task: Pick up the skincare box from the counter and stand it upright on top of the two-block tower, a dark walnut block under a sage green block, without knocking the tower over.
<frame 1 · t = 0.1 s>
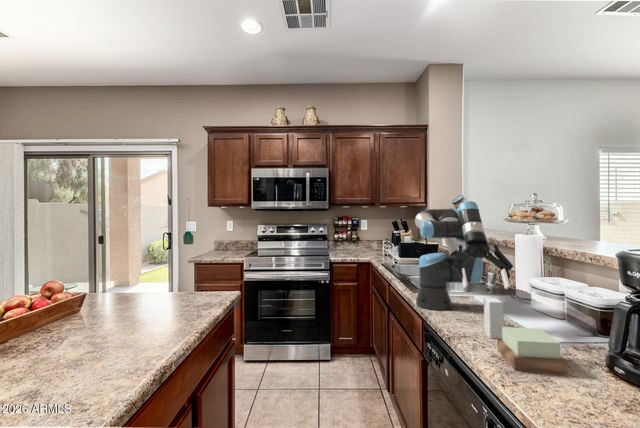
hand: (486, 287, 106), 15 cm above the counter, tool tilted 35°, fingers open, 13 cm apart
skincare box: (493, 336, 102), on the counter
tower top: (529, 349, 84), point 3 cm above the counter, touching tower base
tower base: (529, 363, 84), on the counter, touching tower top
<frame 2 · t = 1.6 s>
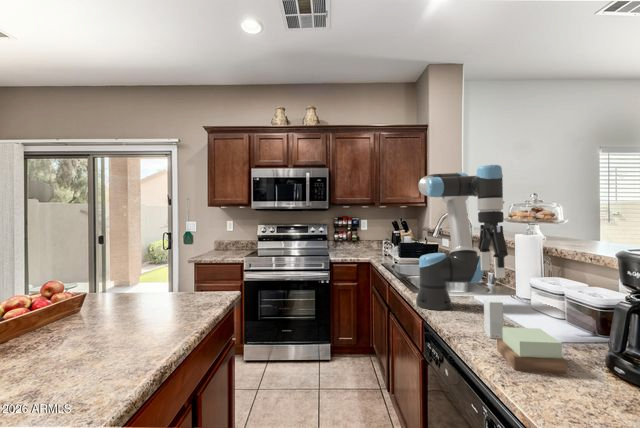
hand: (492, 273, 102), 21 cm above the counter, tool pointing down, fingers open, 13 cm apart
tower top: (530, 349, 84), point 4 cm above the counter
tower base: (529, 362, 84), on the counter
everything else where it was.
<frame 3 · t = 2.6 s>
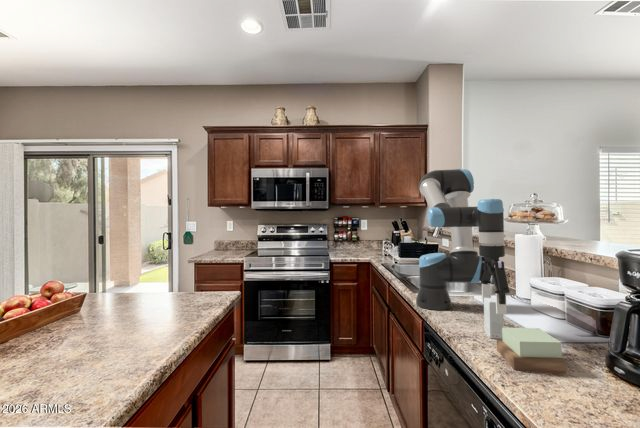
hand: (493, 307, 102), 9 cm above the counter, tool pointing down, fingers open, 13 cm apart
tower top: (530, 349, 84), point 3 cm above the counter, touching tower base
tower base: (528, 363, 84), on the counter, touching tower top
everything else where it was.
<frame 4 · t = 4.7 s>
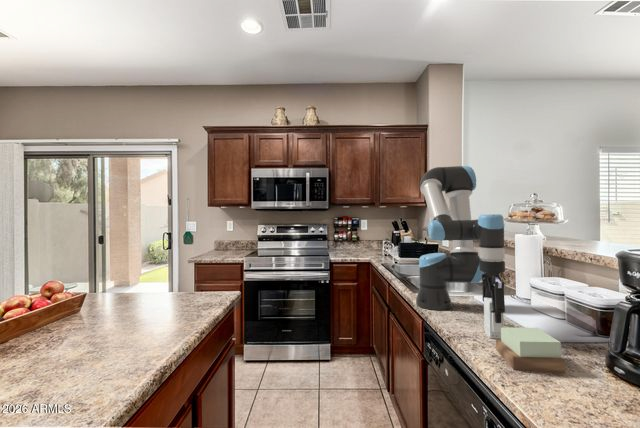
hand: (493, 328, 102), 2 cm above the counter, tool pointing down, fingers closed on skincare box, 6 cm apart
skincare box: (493, 335, 102), on the counter, touching gripper
everything else where it was.
when the fingers open (11 cm above the counter, at t = 12.1 s): skincare box stays where it is, point 7 cm above the counter.
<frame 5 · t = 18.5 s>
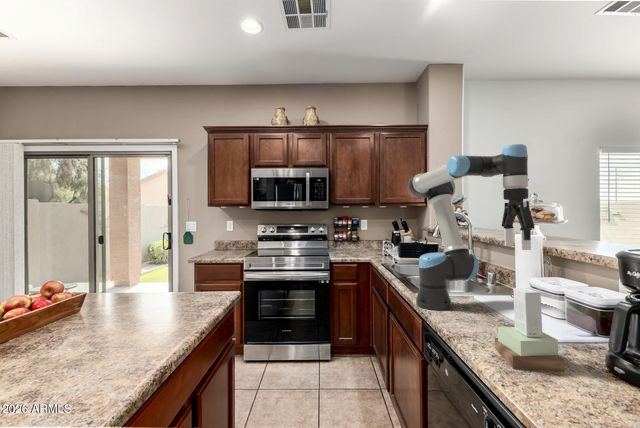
hand: (517, 247, 108), 29 cm above the counter, tool pointing down, fingers open, 13 cm apart
skincare box: (528, 334, 85), point 7 cm above the counter
at the end: skincare box inside the target area on the tower top (0.5 cm from its centre), point 3.9 cm above the tower top's base; skincare box tilted 2°; tower top 0.1 cm off-centre on the tower base, point 4.0 cm above the tower base's base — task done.
